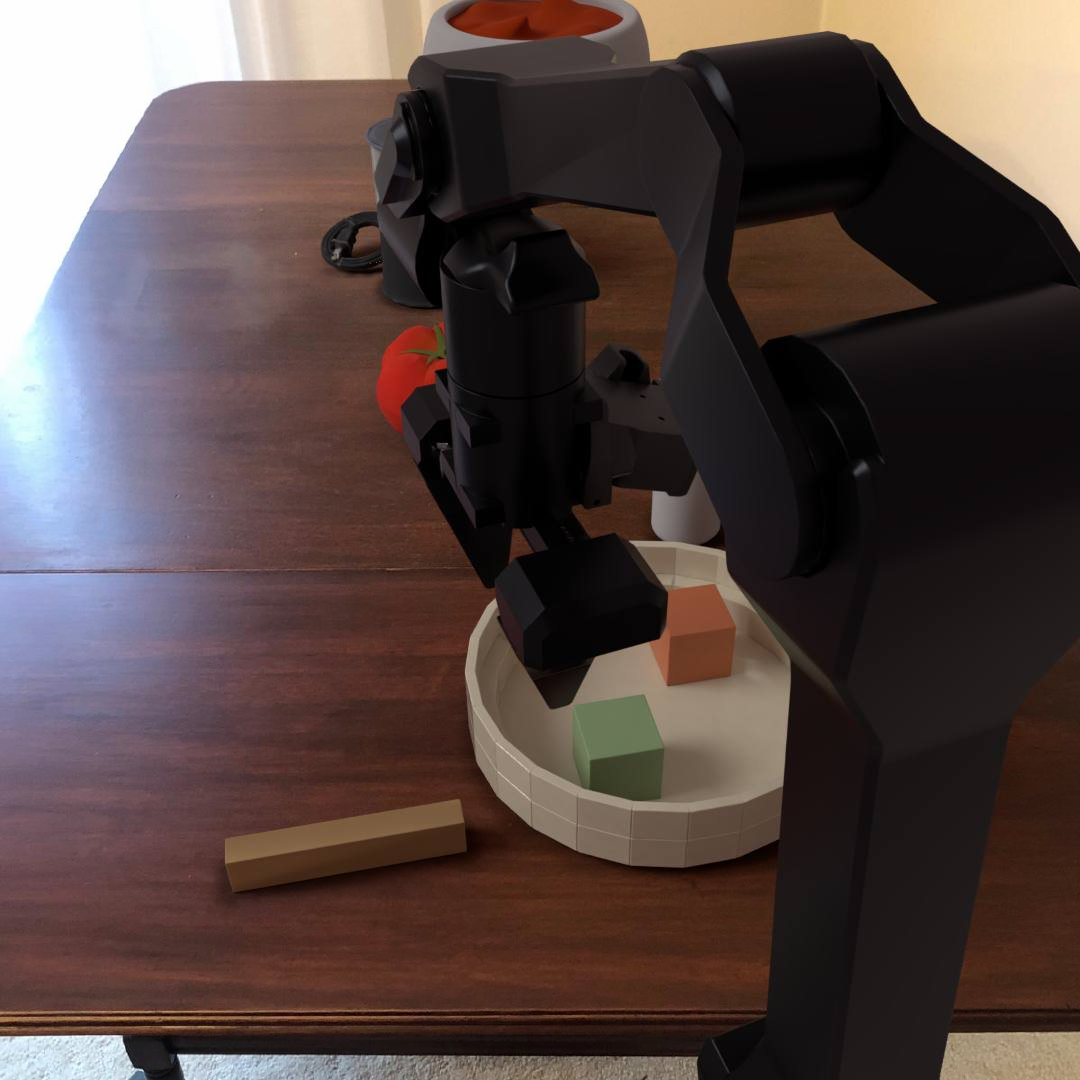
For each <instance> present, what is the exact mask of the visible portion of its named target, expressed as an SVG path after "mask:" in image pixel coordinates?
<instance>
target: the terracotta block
mask: <svg viewBox="0 0 1080 1080" xmlns="http://www.w3.org/2000/svg"><path fill="white" fill-rule="evenodd" d="M667 592H668V609H667V625H666V629H665V630H664V632H663V634H662V636H661V638H660V639H658V640H655V641H651V642H649V644H650V646H651V649H652V651H653V653H654V656H655V658H656V661H657V663H658V666H659V668H660V671H661V673H662V676H663V678H664V681H665V683H666V686H671V685H678V684H684V683H690V682H696V681H703V680H709V679H715V678H722V677H728V676H731V669H732V660H733V652H734V643H735V634H736V625H735V623H734V621H733V619H732V617H731V615H730V613H729V611H728V609H727V607H726V605H725V603H724V601H723V599H722V597H721V595H720V593H719V591H718V589H717V587H716V585H715V584H708V585H701V586H695V587H688V588H681V589H674V590H668V591H667Z"/></svg>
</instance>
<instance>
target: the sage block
mask: <svg viewBox="0 0 1080 1080" xmlns="http://www.w3.org/2000/svg"><path fill="white" fill-rule="evenodd" d="M573 759H574V762H575V765H576V769H577V772H578V775H579V779H580V782H581V785H582V788H583V789H587V790H591V791H595V792H599V793H603V794H607V795H611V796H616V797H620V798H624V799H628V800H632V801H646V800H651V799H657V798H661V791H662V776H663V762H664V745H663V742H662V740H661V737H660V734H659V732H658V729H657V726H656V724H655V721H654V719H653V716H652V713H651V711H650V708H649V705H648V703H647V700H646V697H645V695H644V694H641V695H635V696H628V697H622V698H616V699H610V700H603V701H597V702H591V703H585V704H578V705H573Z"/></svg>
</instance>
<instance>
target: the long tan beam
mask: <svg viewBox="0 0 1080 1080" xmlns="http://www.w3.org/2000/svg"><path fill="white" fill-rule="evenodd" d="M466 833H467V832H466V823H465V818H464V813H463V807H462V802H461V799H460V798H457V799H450V800H445V801H439V802H432V803H427V804H422V805H416V806H415V805H414V806H410V807H404V808H397V809H392V810H386V811H379V812H375V813H368V814H362V815H357V816H351V817H344V818H339V819H332V820H327V821H320V822H316V823H309V824H303V825H297V826H290V827H285V828H279V829H274V830H267V831H262V832H257V833H250V834H243V835H238V836H231V837H226V838H225V839H224V865H225V869H226V872H227V876H228V879H229V882H230V887H231V889H232V892H233V893H239V892H244V891H251V890H256V889H262V888H267V887H274V886H279V885H285V884H290V883H296V882H302V881H307V880H313V879H319V878H325V877H329V876H336V875H342V874H348V873H352V872H353V873H354V872H360V871H365V870H369V869H375V868H382V867H387V866H393V865H398V864H405V863H410V862H415V861H420V860H426V859H433V858H438V857H439V858H440V857H444V856H445V857H446V856H449V855H455V854H456V855H457V854H461V853H466V852H468V846H467V834H466Z"/></svg>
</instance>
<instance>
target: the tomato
mask: <svg viewBox="0 0 1080 1080" xmlns="http://www.w3.org/2000/svg"><path fill="white" fill-rule="evenodd" d="M444 368H447V360H446V346H445V333H444V321H442V322H440V323H438V324H436V323H435V322H433V327H428V326H425V325H421V324H416V325H414V326H412V327H410V328H407V329H405V330H404V331H403V332H402V333H401V334H399V336H397V338H395V340H393V341H392V342H391V344H390V345H388V346H387V348H386V350H385V351H384V354H383V355H382V359H381V371H380V373H379V376H378V378H377V381H376V401H377V403H378V407H379V411H380V412H381V414H382V415H383V416H384V417H385V419H386V420H387V422H388V423H389V424H390V426H391V427H392V429H393V430H394V431H396V432H397V433H399V434H400V435H402V436H403V429H402V419H401V409H400V406H401V405H402V404H403V403H404V402H405V400H406V399H407V398H408V397H409V396H410V394H411V393H412V392H413V391H414V390H415V388H416V387H420V386H425V385H430V384H434V383H436V382H435V370H439V369H444Z"/></svg>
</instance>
